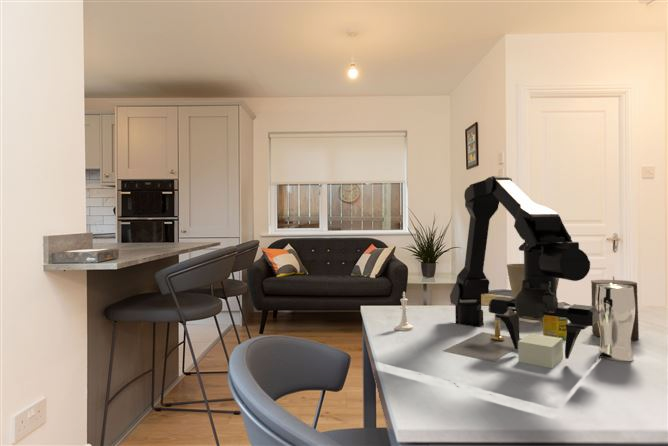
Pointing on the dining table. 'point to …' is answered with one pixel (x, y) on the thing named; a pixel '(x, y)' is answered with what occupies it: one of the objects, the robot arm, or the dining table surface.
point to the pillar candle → (635, 326)
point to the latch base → (483, 347)
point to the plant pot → (518, 280)
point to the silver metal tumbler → (615, 320)
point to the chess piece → (404, 317)
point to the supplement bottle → (555, 325)
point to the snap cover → (540, 350)
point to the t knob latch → (485, 301)
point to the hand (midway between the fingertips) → (541, 353)
